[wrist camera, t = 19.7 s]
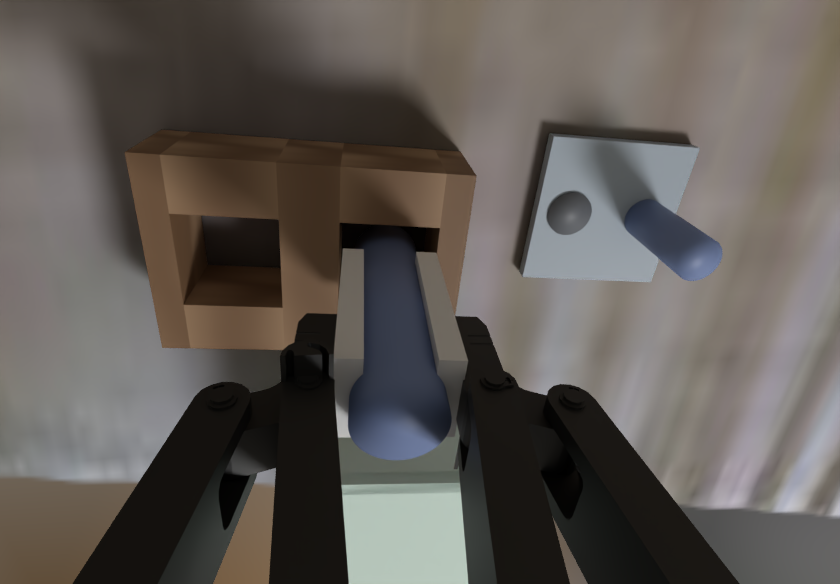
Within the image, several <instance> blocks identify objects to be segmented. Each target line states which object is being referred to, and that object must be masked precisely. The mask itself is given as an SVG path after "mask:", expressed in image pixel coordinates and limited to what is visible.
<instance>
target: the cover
mask: <svg viewBox="0 0 840 584" xmlns="http://www.w3.org/2000/svg"><path fill="white" fill-rule="evenodd" d="M459 437H460V435H459V430H458V426H456V431H455V437H446V438H445V439H444V440H443V441H442V442H441V443H440V444H439V445H438V446H437V447H436V448H434V449H433V450H431V451H430V452H428V453H426V454H424V455H421V456H419V457H416V458H412V459H407V460H385V459H380V458H377V457H374V456H371V455H369V454H367V453H365V452H364V451H362V450H361V449H360V448H359V447H358V446H357V445H356V444H355V443H354V442H353V440H352V439H351V437H340V438H338V445H339V458H340V472H341V485H342V498H343V512H344V525H345V539H346V552H347V565H348V579H349V584H468V573H467V561H466V549H465V537H464V525H463V513H462V501H461V489H460V477H459V465H458V469H454V465H455V459H456V454H457V448H458V443H459Z"/></svg>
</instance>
